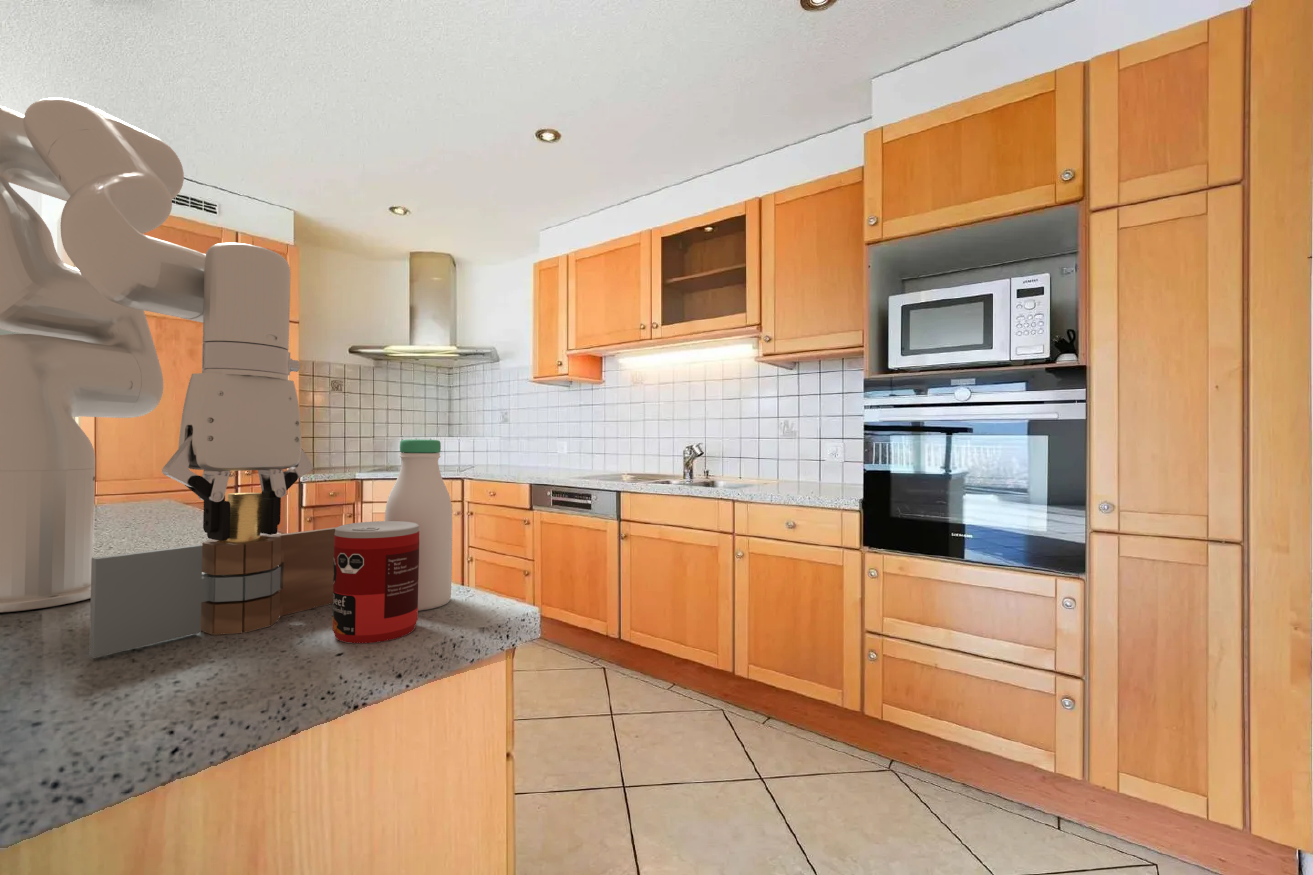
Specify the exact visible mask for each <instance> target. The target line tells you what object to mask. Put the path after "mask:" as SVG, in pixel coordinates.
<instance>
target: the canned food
mask: <svg viewBox="0 0 1313 875" xmlns="http://www.w3.org/2000/svg"><path fill="white" fill-rule="evenodd" d="M418 579H419V525H418V524H416V523H412V522H403V521H385V520H383V521H381V520H379V521H376V520H375V521H364V522H363V521H362V522H352V523H346V524H342V525H339V526H336V528H335V534H334V566H333V604H332V631H333V632H332V633H333V635H334V637H335V639H337V640H338V641H340V642H343V643H346V644H347V643H349V644H375V643H381V642H382V643H383V642H389V641H393V640H396V639H399V638H402V637H405V636H407V635H409V634H410V633H412V632H413V631H414V630H415V629H416V626H417V622H418V618H419V617H418V612H419V611H418Z"/></svg>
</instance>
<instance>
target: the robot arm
mask: <svg viewBox="0 0 1313 875" xmlns="http://www.w3.org/2000/svg"><path fill="white" fill-rule="evenodd" d="M184 174H185V173H184V169H183V165H182V162H181V160H180V158H179V156H178V155H177V152H175V151H174V149H173V148H172V147H171V146H170V145H168V144H167V143H166V142H165V141H164V140H162V139H160V138H159V137H157V136H155V135H154V134H151V133H148V132H146V131H144V130H142V129H140V128H138V127H136V126H134V125H131V124H129V123H128V122H125V121H123V120H121V119H119V118H118V117H115V116H113V115H111V114H109V113H106V112H105V111H103V110H101V109H99V108H95V107H94V106H92V105H89V104H87V103H84V102H82V101H77V100H73V99H69V98H66V97H65V98H63V97H48V98H47V97H46V98H42V99H39V100H37V101H35V102H33V103H31V104H30V105H29V106H28V107H27V109H26V110H25V112H24V114H22V113H20V112H18V111H15V110H13V109H10V108H7V107H6V106H2V105H0V330H2V331H7V332H13V333H7V334H5V333H4V334H0V613H11V612H23V611H31V610H37V609H44V608H51V607H57V606H62V605H66V604H73V603H77V602H81V601H85V600H89V599H91V562H92V558H94V532H95V530H94V529H95V494H96V492H95V490H96V489H95V486H96V484H95V483H96V452H95V449H94V447H93V446H94V445H93V444H92V442H91V440H90V438H89V437H88V435H87V434H86V433H85V432H84V430H83V429H82V428H81V426H80V424H78V423H77V422H76V420H75V419H74V418H77V417H78V418H79V417H88V418H90V417H91V418H115V419H127V418H128V419H129V418H138V417H143V416H145V415H148V414H150V413H151V412H153V411H154V410H155V409H156V408H157V407H158V405H159V404H160V402H161V400H162V398H163V395H164V394H163V393H164V378H163V377H164V376H163V372H162V366H161V363H160V359H159V357H158V354H157V350H156V347H155V342H154V340H153V336H152V333H151V330H150V326H149V323H148V320H147V317H146V314H145V312H151V313H156V314H159V315H164V316H171V317H176V318H180V319H182V320H183V319H184V320H189V321H193V322H197V323H201V324H202V353H201V356H202V357H201V358H202V360H201V363H202V364H201V372H200V373H199V372H197V373H192V374H191V375H190V378H189V382H188V385H187V390H186V393H185V399H184V404H183V406H182V413H181V421H180V428H179V436H178V449H177V450H176V451H175V452H174V453H173V455H172V456H171V457H170V459H169V460H168V461H167V463H166V464H165V465H164V466H163V467H162V469H161V473H162V474H163V475H164V476H166V477H168V478H171V480H174V481H176V482H178V483H180V484H182V485H184V486H185V487H187V488H188V489H189V490H190V491H192V492H193V493H194V494H195V495H197V498H198V499H199V500H201V501H203V512H202V513H203V515H202V517H203V518H202V520H203V521H202V528H203V529H202V530H203V532H204V533H206V537H207V538H208V539H209V540H211V539H214V540H219V541H224V540H227V539H229V538H230V502H229V501H227V500H226V490H227V488H228V487H227V486H228V483H229V478H230V474H231V472H236V471H237V472H238V471H239V472H240V471H241V472H243V471H244V472H245V471H257V473H258V478H259V479H258V480H259V484H260V489H261V493H262V508H261V529H260V534H263V535H278V534H277V533H278V527H279V525H280V523H281V515H282V514H281V511H282V508H281V507H282V504H281V502H282V498H284V497H285V496H286V495H287V491H288V490H289V489H290V488H291V487H292V486H293V485H294V484H295V483H296V482H297V481H298V480H299V479H300V478H302V477H304V476H305V475H307V474H308V473H309V472H311V471H312V470H313V469H314V465H313V463H312V462H311V460H310V459H309V457H308V456H307V454H306V452H305V451H304V449H303V447H302V423H301V412H300V404H299V400H298V394H297V389H296V386H295V383H294V380H289V376H291V373H292V372H294V373H296V372H299V371H300V368H301V364H300V361H299V360H297V359H293V358H291V352H290V351H289V350H290V316H291V315H290V312H291V310H290V307H291V302H290V301H291V268H290V264H289V262H288V261H287V259H286V258H285V257H284V256H282V255H281V254H280V253H278V252H276V251H274V250H272V249H268V248H266V247H262V246H259V245H254V244H248V243H241V242H220V243H216V244H213V245H211V246H210V247H209V248H208V249H207V251H205V253H202V252H200V251H198V250H195V249H193V248H192V249H191V248H188V247H185V246H183V245H179V244H176V243H173V242H170V241H166V240H164V239H163V240H162V239H159V238H156V237H154V236H151V235H147V234H145V233H149V232H151V231H153V230H155V229H157V228H159V227H161V225H163V224H164V223H165V222H166V221H167V219H168V218H169V216H170V214H171V213H172V209H173V202H172V200H173V199H175V198H176V197H177V196H178V195H179V194H180V192H181V190H182V188H183V186H184V180H185V179H184V178H185V177H184ZM11 184H13V185H16V186H19V187H23V188H24V189H27V190H31V191H34V192H37V193H39V194H42V195H45V196H49V197H51V198H55V199H58V200H61V201H64V202H65V204H64V206H63V209H62V212H61V216H60V238H61V242H62V247H63V249H64V252H65V253H66V254H67V256H68V258H69V259H70V261H71V262H72V263H73V264H74V266H71V265H70V264H68V263H67V262H64V261H63V260H62V259H61V258H60V257H59V255H58V252H57V250H56V248H55V244H54V238H53V236H52V233H51V230H50V228H49V227H48V224H46V222H45V221H44V219H43V218H42V217H41V215H40V214H39V213H38V212H37V211H36V210H35V209H34V208H33V206H32V205H31V204H30V203H29V202H27V200H26V199H25V198H23V197H22V196H21V195H20V194H19V193H18V191H16V190H15V189H14V188H13V187H12V186H11ZM191 470H199V471H200V470H201V471H203V472H202V475H198V474H196V473H195V472H193V471H191ZM284 470H285V471H284Z"/></svg>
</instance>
